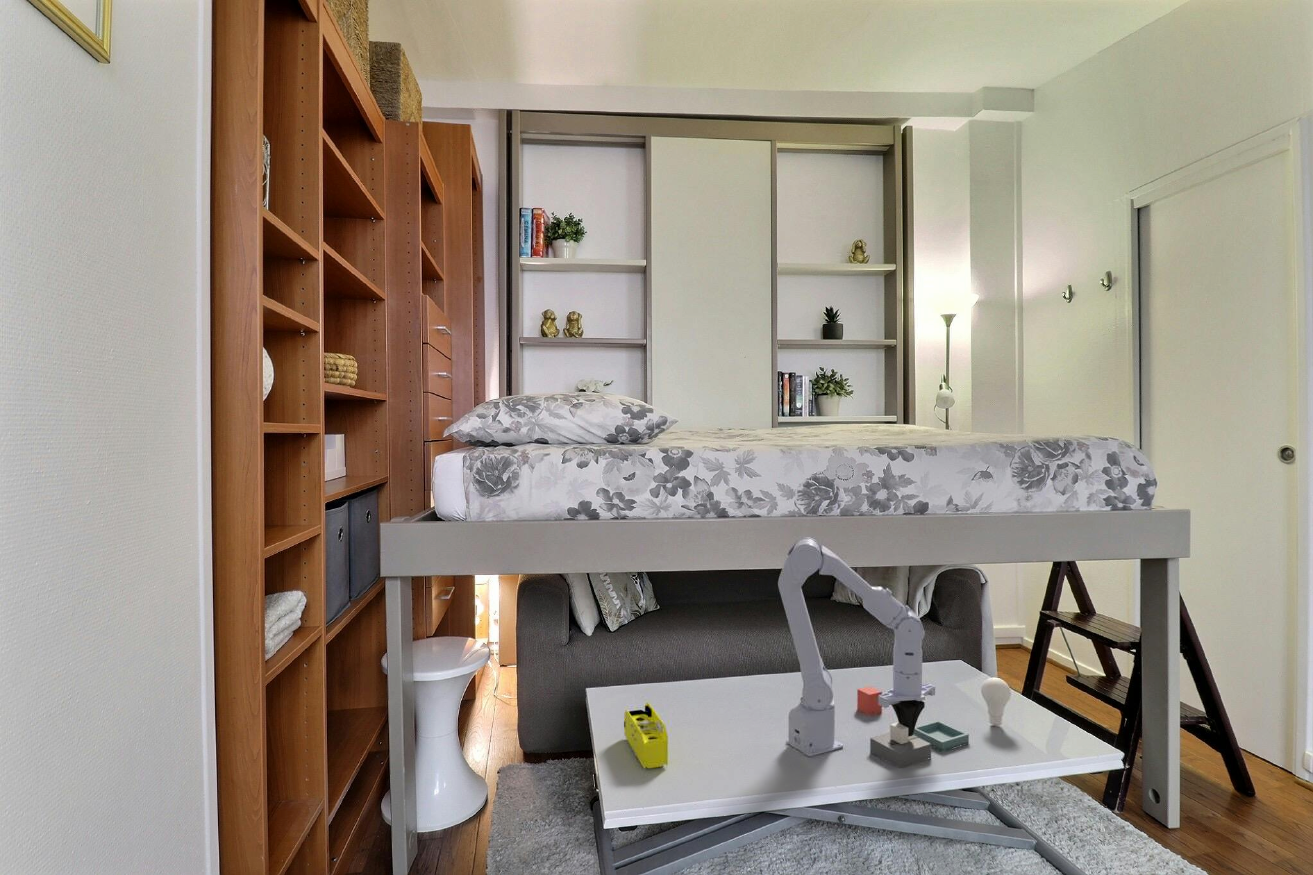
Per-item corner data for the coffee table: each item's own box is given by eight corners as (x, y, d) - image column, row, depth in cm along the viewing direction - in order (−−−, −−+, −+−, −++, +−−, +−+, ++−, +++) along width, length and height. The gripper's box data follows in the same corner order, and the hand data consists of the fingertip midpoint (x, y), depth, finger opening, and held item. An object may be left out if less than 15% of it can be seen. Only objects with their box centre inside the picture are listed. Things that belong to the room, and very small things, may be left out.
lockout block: (869, 715, 171) (869, 694, 171) (857, 709, 174) (857, 689, 174) (881, 712, 173) (882, 691, 173) (869, 706, 176) (869, 686, 176)
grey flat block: (899, 768, 145) (899, 752, 145) (870, 751, 152) (870, 737, 152) (930, 758, 149) (931, 743, 149) (901, 742, 156) (901, 728, 156)
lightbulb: (979, 728, 163) (980, 680, 163) (981, 718, 169) (982, 671, 169) (1009, 733, 161) (1010, 684, 160) (1010, 723, 166) (1011, 676, 166)
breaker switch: (901, 744, 149) (901, 729, 149) (890, 738, 151) (890, 724, 151) (908, 742, 150) (908, 727, 149) (897, 736, 152) (897, 722, 152)
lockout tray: (942, 751, 152) (942, 742, 152) (911, 736, 159) (911, 727, 159) (968, 743, 156) (968, 734, 156) (937, 728, 163) (937, 720, 163)
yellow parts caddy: (670, 768, 145) (669, 727, 145) (642, 772, 144) (642, 731, 143) (648, 735, 161) (648, 698, 160) (623, 738, 159) (623, 701, 159)
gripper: (897, 682, 144) (896, 749, 145) (947, 670, 151) (946, 734, 151) (871, 671, 150) (870, 735, 151) (920, 660, 157) (919, 721, 158)
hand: (906, 734), depth 151 cm, fingers closed
